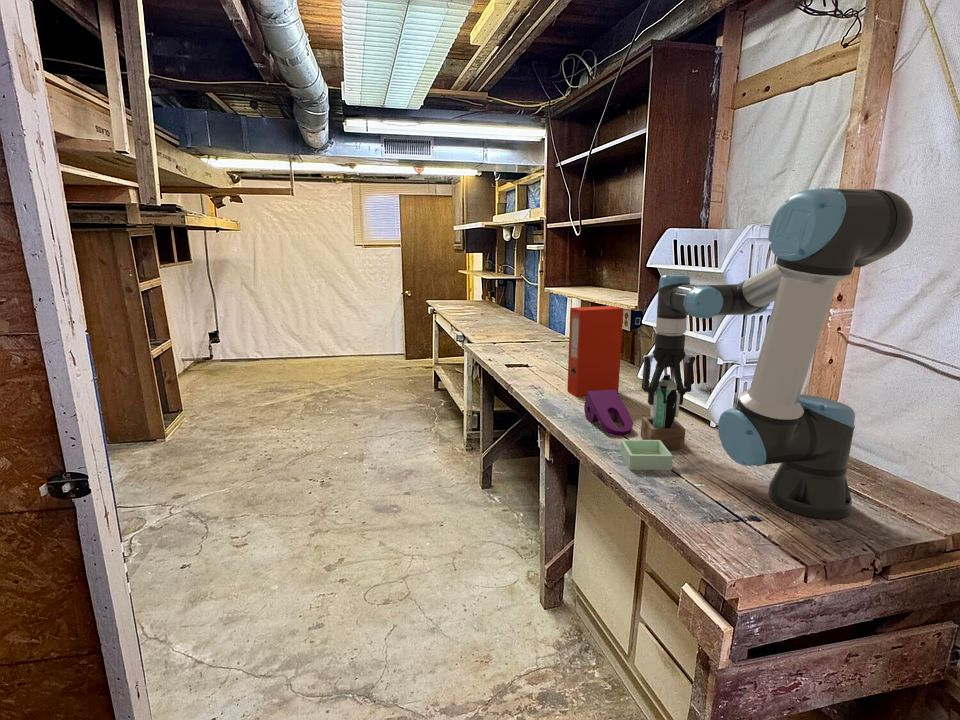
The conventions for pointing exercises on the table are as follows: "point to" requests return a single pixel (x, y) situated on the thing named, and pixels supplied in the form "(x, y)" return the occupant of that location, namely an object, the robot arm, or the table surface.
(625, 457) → the parts tray
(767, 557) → the table surface
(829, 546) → the table surface
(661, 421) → the spray can
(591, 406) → the mounting bracket
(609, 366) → the file binder
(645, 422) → the brown open-top box
